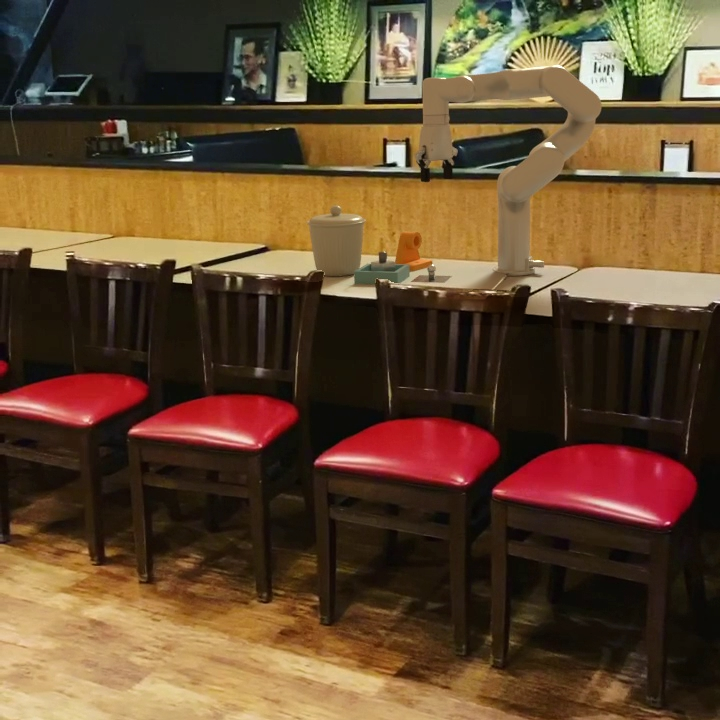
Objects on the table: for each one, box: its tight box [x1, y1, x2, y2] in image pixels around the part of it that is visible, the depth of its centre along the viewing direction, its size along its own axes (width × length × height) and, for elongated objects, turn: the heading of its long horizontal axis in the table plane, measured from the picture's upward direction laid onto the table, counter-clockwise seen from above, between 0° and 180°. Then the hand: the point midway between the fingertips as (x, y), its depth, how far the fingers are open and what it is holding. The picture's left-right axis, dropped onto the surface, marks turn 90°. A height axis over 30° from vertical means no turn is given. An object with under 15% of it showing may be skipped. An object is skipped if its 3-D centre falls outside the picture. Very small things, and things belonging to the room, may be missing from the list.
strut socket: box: [370, 251, 395, 272], centre depth 307 cm, size 5×5×8 cm
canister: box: [306, 205, 367, 277], centre depth 322 cm, size 18×18×21 cm
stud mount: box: [410, 264, 453, 284], centre depth 307 cm, size 10×10×5 cm
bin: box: [353, 263, 411, 285], centre depth 308 cm, size 13×13×4 cm
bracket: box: [395, 230, 434, 272], centre depth 325 cm, size 11×7×12 cm, turn 142°
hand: (436, 180), depth 311 cm, fingers open, 9 cm apart
